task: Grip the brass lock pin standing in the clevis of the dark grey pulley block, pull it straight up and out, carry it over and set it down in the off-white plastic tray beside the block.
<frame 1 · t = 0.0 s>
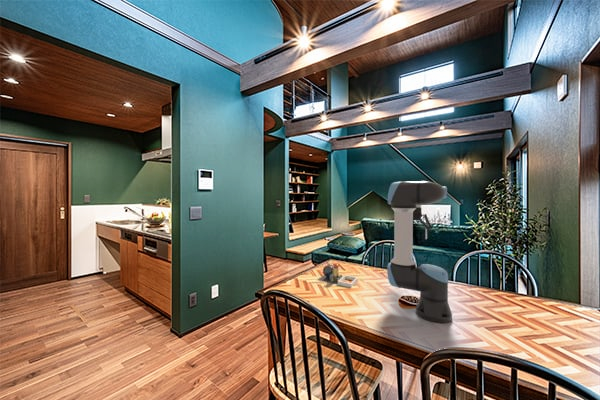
hand: (415, 237, 164), 28 cm above the table, fingers open, 13 cm apart
lock pin: (335, 280, 158), point 1 cm above the table, touching pulley block
pulley block: (336, 281, 159), on the table
tray: (348, 283, 155), on the table
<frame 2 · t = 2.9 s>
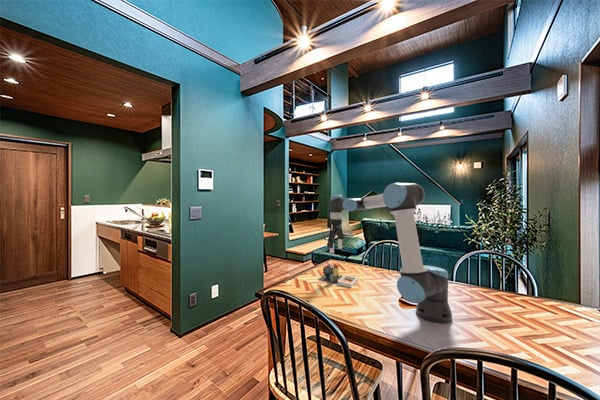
hand: (336, 250, 158), 21 cm above the table, fingers open, 13 cm apart
nothing on the table moved.
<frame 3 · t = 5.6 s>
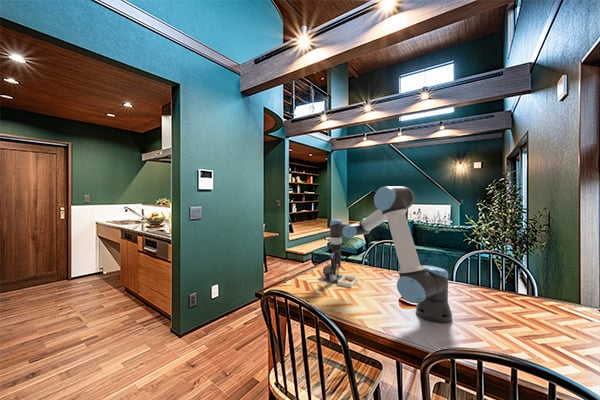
hand: (335, 278, 158), 2 cm above the table, fingers closed on lock pin, 3 cm apart
lock pin: (335, 280, 158), point 1 cm above the table, touching gripper, pulley block
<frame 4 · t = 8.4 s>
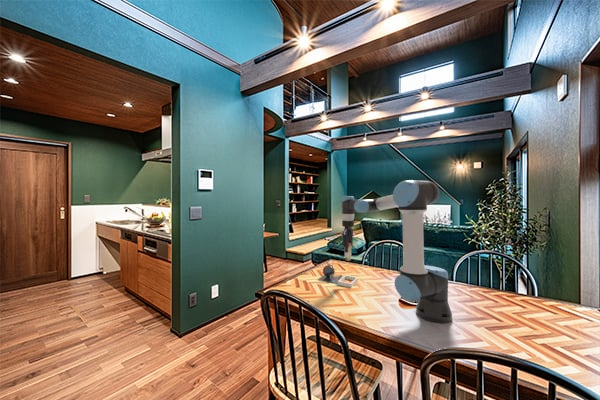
hand: (348, 256, 155), 18 cm above the table, fingers closed on lock pin, 3 cm apart
lock pin: (348, 259, 155), point 16 cm above the table, touching gripper
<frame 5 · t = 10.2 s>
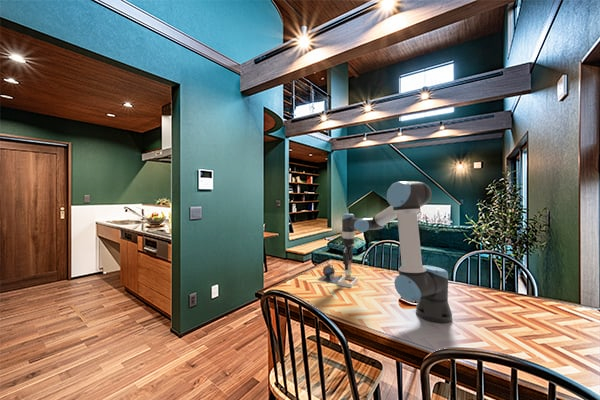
hand: (347, 273, 155), 7 cm above the table, fingers closed on lock pin, 3 cm apart
lock pin: (347, 277, 155), point 4 cm above the table, touching gripper
when the fingers open (4 cm above the table, at t = 11.5 s): lock pin stays where it is, resting on tray.
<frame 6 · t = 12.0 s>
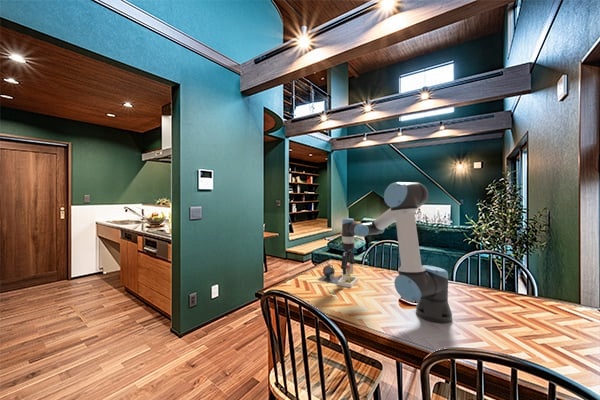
hand: (348, 276, 155), 5 cm above the table, fingers open, 11 cm apart
lock pin: (347, 282, 155), point 1 cm above the table, touching tray
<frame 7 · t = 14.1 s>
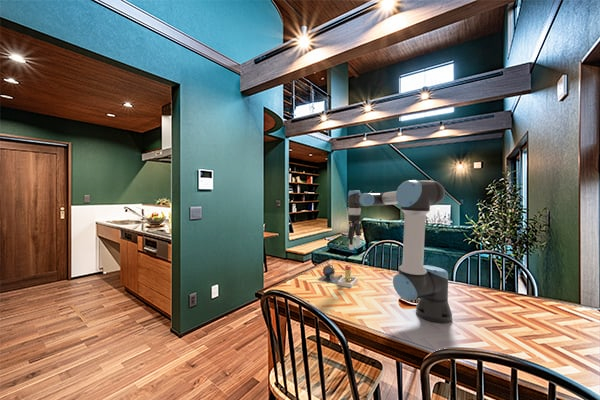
hand: (354, 247, 154), 24 cm above the table, fingers open, 13 cm apart
nothing on the table moved.
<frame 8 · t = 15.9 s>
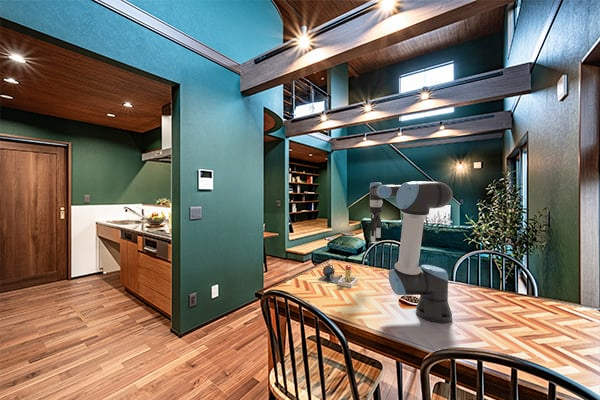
hand: (375, 239, 155), 29 cm above the table, fingers open, 13 cm apart
nothing on the table moved.
at the end: lock pin inside the target area on the tray (0.1 cm from its centre), point 0.6 cm above the tray's base; the gripper is holding nothing; lock pin touching tray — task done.
